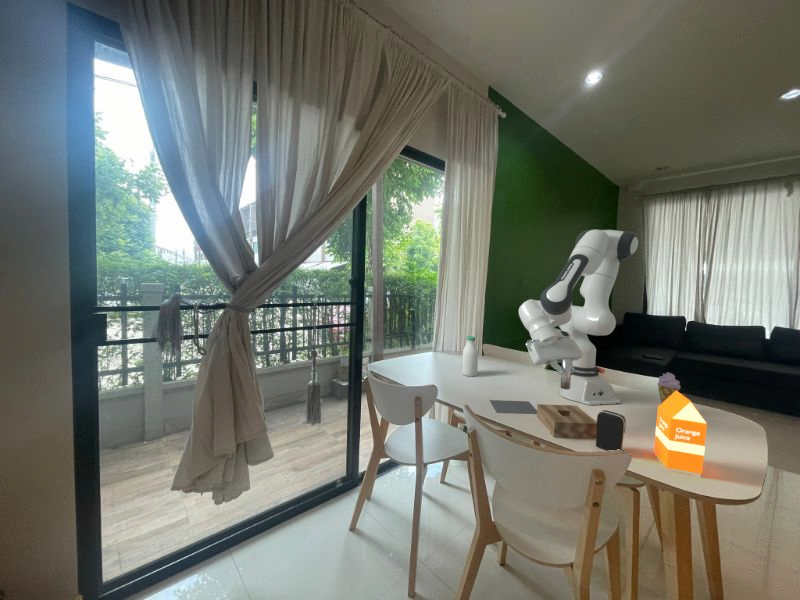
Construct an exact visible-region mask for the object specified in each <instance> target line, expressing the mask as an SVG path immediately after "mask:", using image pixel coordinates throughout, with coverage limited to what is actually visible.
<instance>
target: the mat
mask: <svg viewBox="0 0 800 600" xmlns="http://www.w3.org/2000/svg"><path fill="white" fill-rule="evenodd" d="M489 403H490V404H491V406H492V407H493V409H494V411H495V412H496V414H514V415H515V414H517V415H519V414H521V415H537V408H535V407H534V405H532V403H530V401H528V400H526V401H525V400H502V399H501V400H500V399H489Z"/></svg>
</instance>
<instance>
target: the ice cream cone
mask: <svg viewBox="0 0 800 600" xmlns="http://www.w3.org/2000/svg"><path fill="white" fill-rule="evenodd" d="M680 383H681V382H680V381H679V380H677V379H676V376H675V375H674V374H673V373H671V372H666V373H662V375H661V376H659V377H658V382H657V388H658V394H659V398H660V402H661V404H662V403H663V402H664V401H665V400H666V399H667V398H668V397H670V396H671V395H672V394H673V393H674V392H675V391H678V392H679V391H680V389H681V385H680Z"/></svg>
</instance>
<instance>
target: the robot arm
mask: <svg viewBox="0 0 800 600" xmlns="http://www.w3.org/2000/svg"><path fill="white" fill-rule="evenodd" d="M638 247H639V238H638V236H637V233H635V232H632V231H627V230H625V231H623V230H617V229H616V230H615V229H587V230H583V231H582V232H580V233H578V235H577V237H576V240H575V245H574V248H573V250H572V252H571V254H570V255H569V258H568V260H567V262H566V264H564V266H563V268H562V270H561V271H560V272H559V274H558V275H557V278H556V279H555V280H554V281H553V282H552V283H551V284H550V285H548V286H547V287H546V288H545V289H544V290H543V291H542V292H541V295H540V296H539V297H540V298H539V300H536V299H527V300H526V301H524V302H523V303H522V304H521V305H520V306H519V308H518V317H519V319H520V321H521V323H522V324H523V326H524V328H525V329H526V330H527V331H528V332H529V336H530V338H531V339H528V340H526V342H525V346H526V348H527V351H528V354H529V357H530V359H531V361H532V362H533V364H535V365H536V366H542V365H543V366H544V365H550V366H551V367H552V368H553V369H554V370H555V371H557V373H558V375H561V374H564V373H565V372H566V371H565V370H564V368H563V367H562V366H561V365H560V364H558V363H562V358H569V359H572V367H571V385H570V389H562V388H561V387H560V388H561V389H560V391H559V395H560V396H561V397H564V398H565V399H568V400H570V401H573V402H578V403H581V404H584V405H587V406H596V405H597V406H599V405H600V404H602V405H616V403H619V404H621V400H620V398H619V397H618V396H616V395H615V391H614V387H613V386H612V384H611V383H609V382H608V381H607V380H606V379H605V378H604V377H602V376H601V375H603V374H604V373H605V369H603V368H602V367H598V366H596V359H597V358H596V356H597V348H596V346H595V344H594V343H592V342H591V340H590V339H589V336H588V335H591V336H608V335H610V334H611V333H613V332H614V330H615V328H616V325H617V323H616V322H617V321H616V318H615V315H614V314H613V313H612V312H611V309H610V307H609V300H610V296H611V293H612V289H613V287H614V285H615V282H616V280H617V276H618V273H619V268H620V264H621V263H623V262H625V260H628V259H630V258H631V257H632V256H633V255H634V254H635V252H636V251H637V250H638ZM581 277H584V278H583V281H582V283H581V286H580V288H579V293H580V295H581V297H582V298H584V305H583V306H579V305H573V290H574V288H575V286H576V285H577V284H578V282H579V280H580V279H581ZM556 327H559V329H558V328H556ZM599 373H600V374H601V375H600V374H599Z"/></svg>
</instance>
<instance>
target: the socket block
mask: <svg viewBox="0 0 800 600" xmlns="http://www.w3.org/2000/svg"><path fill="white" fill-rule="evenodd" d="M536 407H537V408H536V410H537V414H536V417H537V419H538V420H539V421H540V422H541V423H542V425H543V426H544V427H545V428H546V429H547V430H548V431H549V434H550V435H551V436H552V438H567V439H568V438H569V439H592V438H596V428H597V420H595V419H594V418H593V417H591V416H590V415H589V414H588V413H586V411H584V410H583V409H582V408H580V407H579V406H578V405H571V404H570V405H569V404H567V405H565V404H540V403H539V404H537V406H536Z"/></svg>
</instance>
